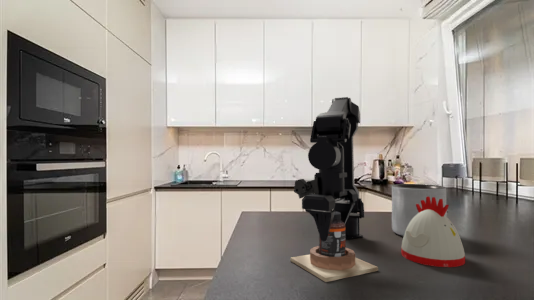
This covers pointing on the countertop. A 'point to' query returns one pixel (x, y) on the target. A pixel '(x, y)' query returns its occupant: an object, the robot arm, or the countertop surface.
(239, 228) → the countertop surface
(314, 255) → the collar stand
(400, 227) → the planter
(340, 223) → the supplement bottle
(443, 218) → the kitchen timer
